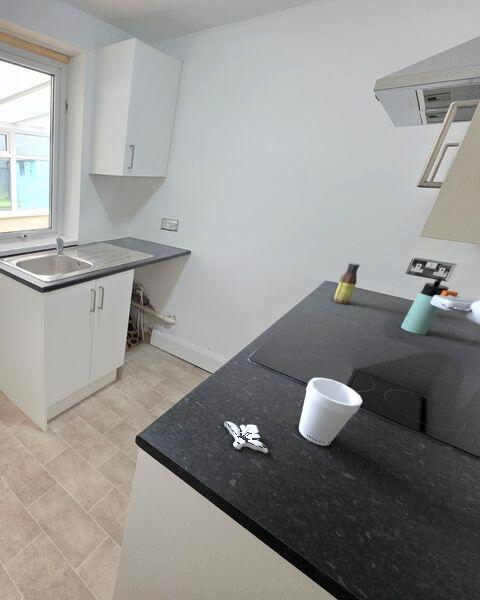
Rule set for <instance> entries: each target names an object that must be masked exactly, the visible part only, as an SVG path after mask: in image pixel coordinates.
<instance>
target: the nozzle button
mask: <svg viewBox="0 0 480 600" xmlns="http://www.w3.org/2000/svg"><path fill="white" fill-rule="evenodd" d="M441 295H442V296H449V295H451V296H459V292H457V291H454V290H448V291H445V290H443V291H442V293H441Z"/></svg>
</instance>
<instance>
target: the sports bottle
mask: <svg viewBox="0 0 480 600" xmlns="http://www.w3.org/2000/svg"><path fill="white" fill-rule="evenodd" d="M442 281H443V278H442V277H441V276H438V277H437V278H435V280H434V282H426V283H425V284H424V286H423V288H422V289H421V291H418V293H417V295H416V297H415V298H414V300H413V302H412V304H411V307H410V308H409V310H408V312H407V314H406V316H405V318H404V320H403V321H402V323H401V326H400V328H401V329H402V330H404V331H406V332H409V333H412V334H416V335H423V336H424V335H426V334H427V333H428V331H429V330H430V327H431V326H432V324H433V322H434V320H435V319H436V317H437V315H438V313H439V312H440V310H441V308H439V307H436V306H434V305H432V304H430V302H431V300H432V298H433V296H434V295H441V293H442V291H443V290H445V291H449V289H450V288H449V287H448V286H446V285H443V284H441V283H442Z"/></svg>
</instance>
